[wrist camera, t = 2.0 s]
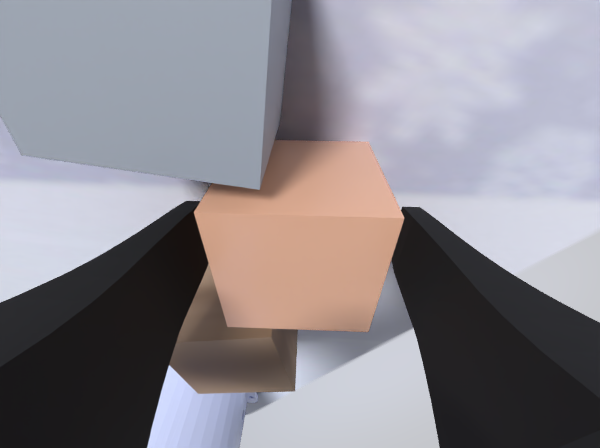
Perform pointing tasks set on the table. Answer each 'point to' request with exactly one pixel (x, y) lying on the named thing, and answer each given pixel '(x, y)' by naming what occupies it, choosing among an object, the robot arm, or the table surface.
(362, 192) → the terracotta block
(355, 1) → the table surface
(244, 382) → the walnut block
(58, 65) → the slate block
